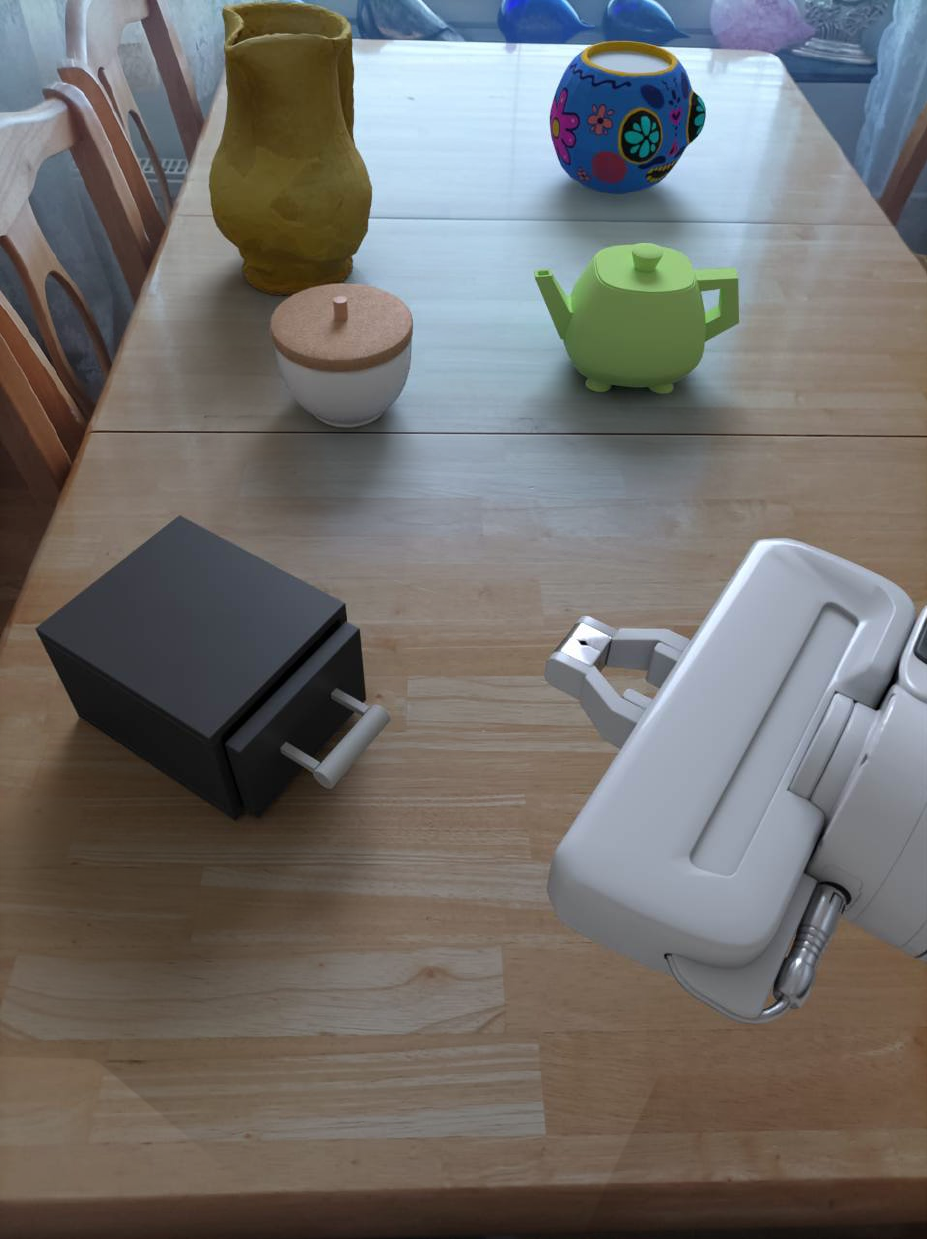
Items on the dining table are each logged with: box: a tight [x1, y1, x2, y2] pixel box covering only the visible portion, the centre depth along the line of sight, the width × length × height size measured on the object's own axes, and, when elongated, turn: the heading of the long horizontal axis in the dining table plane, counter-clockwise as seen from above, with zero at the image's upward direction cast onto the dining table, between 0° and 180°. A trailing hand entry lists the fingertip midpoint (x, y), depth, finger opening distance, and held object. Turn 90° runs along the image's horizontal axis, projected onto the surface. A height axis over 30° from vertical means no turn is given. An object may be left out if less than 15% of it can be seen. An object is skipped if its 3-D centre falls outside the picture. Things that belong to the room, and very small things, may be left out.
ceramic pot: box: [549, 40, 707, 195], centre depth 116 cm, size 18×18×15 cm
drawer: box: [220, 620, 392, 820], centre depth 61 cm, size 18×11×8 cm, turn 57°
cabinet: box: [34, 514, 348, 822], centre depth 63 cm, size 15×13×10 cm
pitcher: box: [208, 0, 373, 296], centre depth 97 cm, size 17×19×25 cm
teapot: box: [533, 242, 740, 395], centre depth 90 cm, size 20×13×13 cm
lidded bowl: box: [269, 282, 414, 429], centre depth 85 cm, size 13×13×11 cm
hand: (561, 646), depth 40 cm, fingers closed
